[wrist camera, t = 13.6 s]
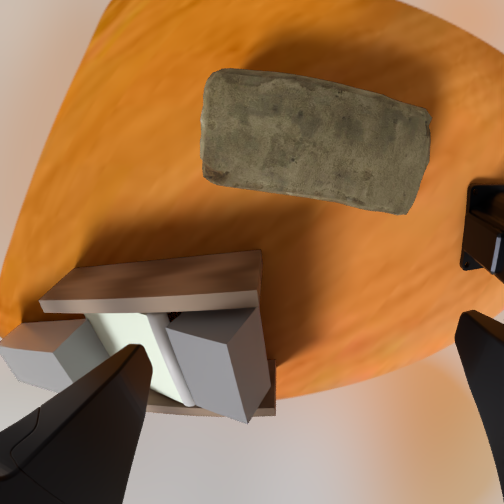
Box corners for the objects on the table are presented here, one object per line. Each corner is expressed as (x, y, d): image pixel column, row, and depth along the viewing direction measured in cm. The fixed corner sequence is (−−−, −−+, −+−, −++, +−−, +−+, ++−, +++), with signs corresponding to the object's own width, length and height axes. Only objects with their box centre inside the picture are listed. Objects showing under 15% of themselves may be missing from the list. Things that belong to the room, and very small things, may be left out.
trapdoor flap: (257, 297, 17) (223, 337, 14) (271, 390, 20) (248, 429, 17) (106, 270, 23) (73, 292, 20) (135, 345, 26) (109, 368, 23)
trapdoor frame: (260, 249, 19) (256, 290, 15) (276, 367, 24) (275, 415, 19) (73, 268, 21) (38, 300, 17) (117, 366, 25) (97, 404, 21)
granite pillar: (52, 352, 17) (-5, 345, 21) (86, 399, 18) (18, 381, 22) (87, 318, 21) (21, 323, 25) (114, 363, 22) (42, 357, 26)
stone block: (219, 79, 15) (200, 63, 11) (406, 111, 15) (447, 110, 11) (210, 173, 18) (190, 190, 13) (391, 198, 18) (426, 223, 13)
